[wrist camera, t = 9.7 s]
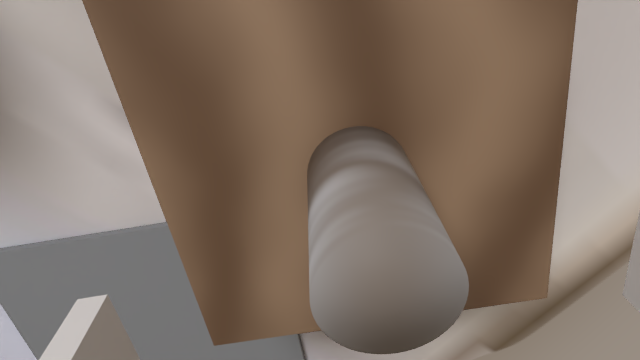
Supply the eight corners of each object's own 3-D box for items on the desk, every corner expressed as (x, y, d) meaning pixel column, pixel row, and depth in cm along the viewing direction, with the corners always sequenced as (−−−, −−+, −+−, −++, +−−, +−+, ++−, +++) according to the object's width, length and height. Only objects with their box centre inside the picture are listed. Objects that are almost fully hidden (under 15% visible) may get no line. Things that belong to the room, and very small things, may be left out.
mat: (92, 434, 37) (89, 439, 36) (-25, 252, 28) (-30, 257, 28) (316, 403, 36) (316, 408, 35) (266, 206, 27) (266, 210, 27)
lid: (218, 327, 22) (176, 508, 15) (94, -11, 15) (-103, 20, 8) (534, 280, 22) (653, 446, 14) (566, -97, 14) (841, -152, 7)
